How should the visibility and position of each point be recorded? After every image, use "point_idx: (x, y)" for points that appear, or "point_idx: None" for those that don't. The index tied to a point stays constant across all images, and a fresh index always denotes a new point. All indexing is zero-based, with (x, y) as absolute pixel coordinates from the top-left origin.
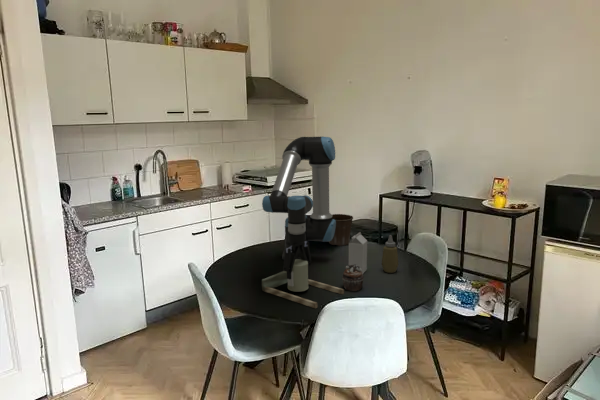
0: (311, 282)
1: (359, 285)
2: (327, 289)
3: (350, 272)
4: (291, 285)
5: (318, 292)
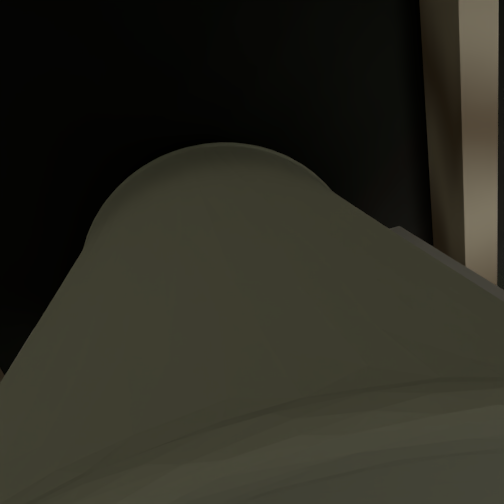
0: (453, 244)
1: None
2: None
3: None
4: None
5: None
